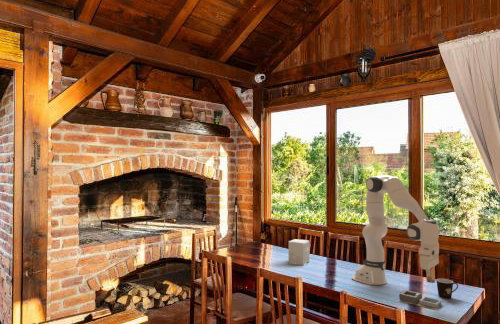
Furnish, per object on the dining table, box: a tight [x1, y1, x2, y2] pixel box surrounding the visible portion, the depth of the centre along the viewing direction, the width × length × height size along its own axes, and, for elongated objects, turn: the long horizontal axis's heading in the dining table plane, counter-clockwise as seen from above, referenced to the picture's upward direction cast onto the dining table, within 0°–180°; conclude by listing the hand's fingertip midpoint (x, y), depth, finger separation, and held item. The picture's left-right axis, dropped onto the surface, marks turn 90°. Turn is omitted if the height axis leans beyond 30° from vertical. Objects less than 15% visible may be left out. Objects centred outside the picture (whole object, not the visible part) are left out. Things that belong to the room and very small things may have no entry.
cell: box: [426, 266, 436, 284], centre depth 195 cm, size 4×4×9 cm
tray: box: [419, 296, 442, 310], centre depth 194 cm, size 9×9×2 cm
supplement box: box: [288, 238, 310, 266], centre depth 288 cm, size 13×13×18 cm
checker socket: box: [398, 289, 423, 305], centre depth 201 cm, size 9×9×4 cm
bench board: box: [397, 299, 443, 311], centre depth 198 cm, size 20×11×1 cm, turn 47°
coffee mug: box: [435, 278, 459, 300], centre depth 207 cm, size 12×9×10 cm
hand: (430, 274), depth 195 cm, fingers closed on cell, 4 cm apart
